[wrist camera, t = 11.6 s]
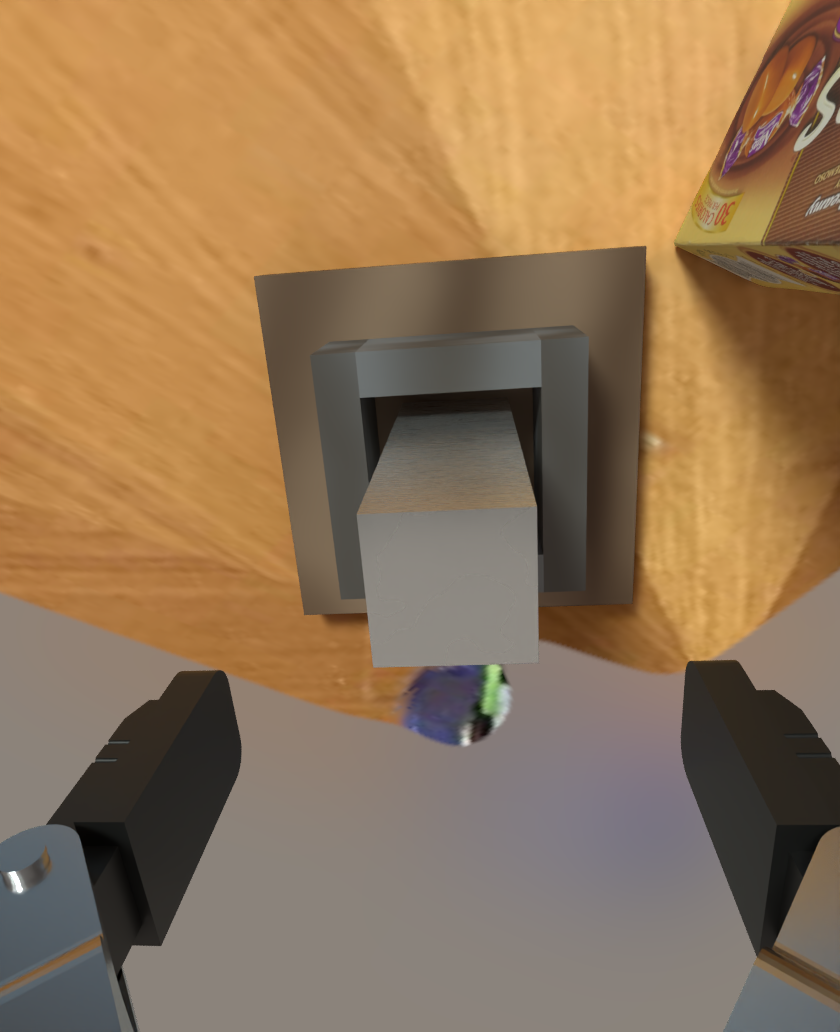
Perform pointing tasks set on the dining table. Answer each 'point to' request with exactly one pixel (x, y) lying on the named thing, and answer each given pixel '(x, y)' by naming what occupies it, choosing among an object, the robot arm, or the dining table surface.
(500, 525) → the square grey peg
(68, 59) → the dining table surface
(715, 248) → the candy box
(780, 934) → the robot arm
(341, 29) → the dining table surface
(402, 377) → the square peg hole frame
